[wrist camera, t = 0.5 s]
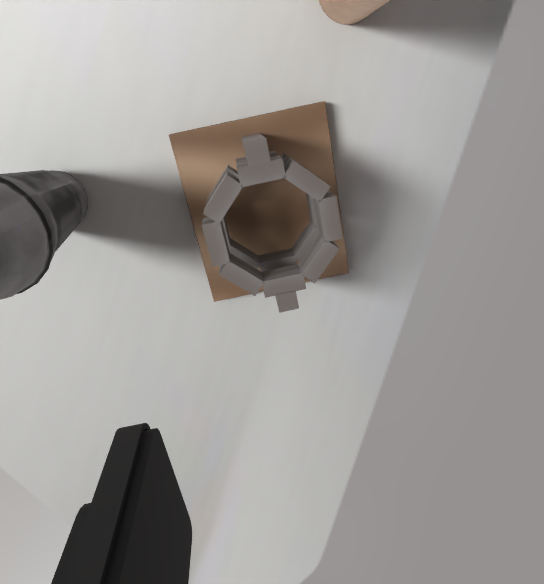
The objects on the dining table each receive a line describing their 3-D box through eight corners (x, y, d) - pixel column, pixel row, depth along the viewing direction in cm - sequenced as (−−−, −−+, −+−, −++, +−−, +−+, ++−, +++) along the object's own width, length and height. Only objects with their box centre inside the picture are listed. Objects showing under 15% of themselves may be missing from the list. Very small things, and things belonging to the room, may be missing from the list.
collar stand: (170, 134, 34) (152, 140, 27) (322, 101, 35) (349, 98, 27) (214, 297, 40) (210, 342, 32) (346, 268, 40) (373, 307, 32)
